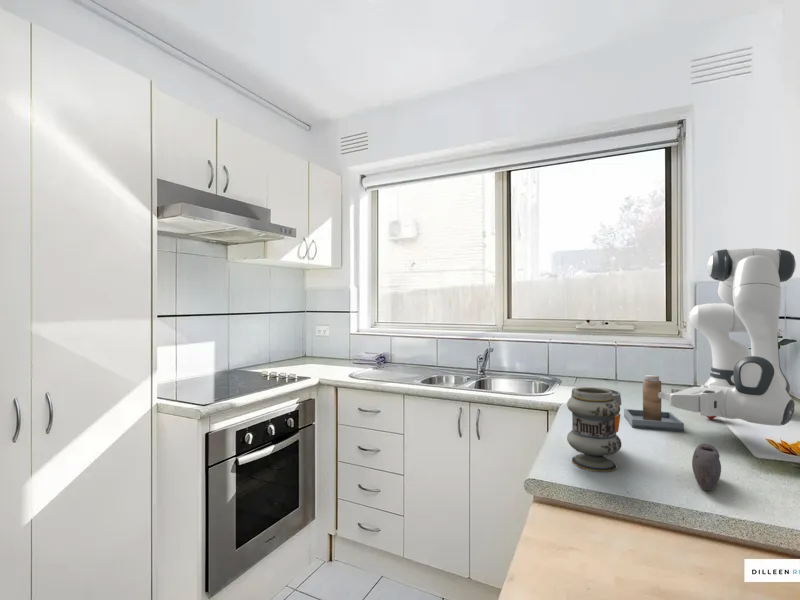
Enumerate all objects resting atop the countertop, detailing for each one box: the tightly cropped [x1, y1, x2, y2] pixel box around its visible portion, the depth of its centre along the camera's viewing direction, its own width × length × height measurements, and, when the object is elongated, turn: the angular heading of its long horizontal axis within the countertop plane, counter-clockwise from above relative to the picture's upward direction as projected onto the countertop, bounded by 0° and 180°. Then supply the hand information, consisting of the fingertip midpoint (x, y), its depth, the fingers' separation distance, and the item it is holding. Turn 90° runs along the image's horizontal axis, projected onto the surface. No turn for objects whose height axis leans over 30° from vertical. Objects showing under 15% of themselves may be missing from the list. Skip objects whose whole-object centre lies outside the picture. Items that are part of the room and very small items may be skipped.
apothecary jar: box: [566, 386, 622, 473], centre depth 104 cm, size 12×12×18 cm
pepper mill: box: [642, 374, 662, 421], centre depth 138 cm, size 5×5×14 cm
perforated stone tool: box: [691, 442, 722, 491], centre depth 93 cm, size 15×5×7 cm, turn 142°
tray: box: [623, 408, 685, 433], centre depth 138 cm, size 14×14×2 cm
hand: (665, 392), depth 135 cm, fingers open, 8 cm apart
